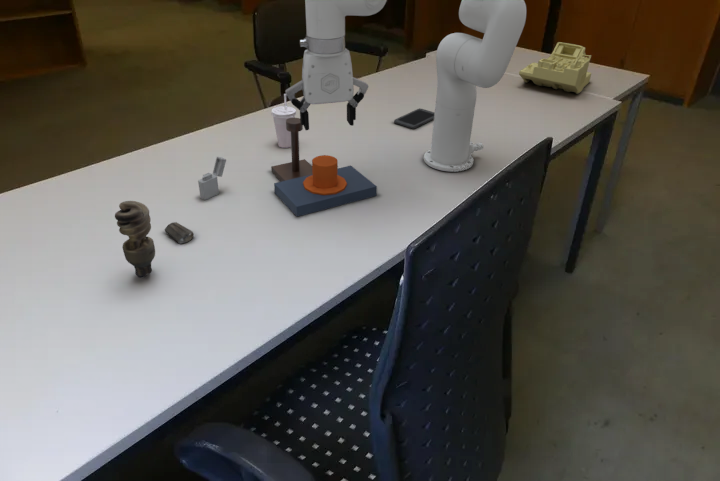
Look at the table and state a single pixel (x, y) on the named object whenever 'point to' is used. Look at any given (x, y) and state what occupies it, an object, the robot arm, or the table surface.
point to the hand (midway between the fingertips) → (328, 125)
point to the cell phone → (415, 118)
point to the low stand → (309, 202)
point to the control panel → (561, 69)
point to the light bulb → (136, 236)
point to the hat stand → (293, 156)
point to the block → (179, 232)
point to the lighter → (211, 180)
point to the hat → (324, 177)
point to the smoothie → (283, 123)
